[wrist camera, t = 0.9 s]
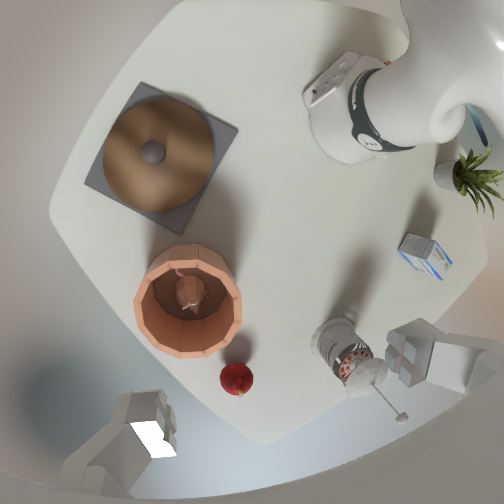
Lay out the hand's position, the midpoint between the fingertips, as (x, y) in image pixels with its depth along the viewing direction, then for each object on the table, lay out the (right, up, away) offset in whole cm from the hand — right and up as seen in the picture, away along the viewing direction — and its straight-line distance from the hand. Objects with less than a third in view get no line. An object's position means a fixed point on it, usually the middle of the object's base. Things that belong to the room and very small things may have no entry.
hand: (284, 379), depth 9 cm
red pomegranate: (-5, -17, +41) cm, 45 cm away
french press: (+15, -14, +44) cm, 48 cm away
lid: (-15, +19, +30) cm, 38 cm away
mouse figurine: (-11, -1, +36) cm, 38 cm away
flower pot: (-11, -1, +36) cm, 38 cm away
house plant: (+39, +20, +41) cm, 60 cm away
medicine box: (+32, +4, +43) cm, 53 cm away
